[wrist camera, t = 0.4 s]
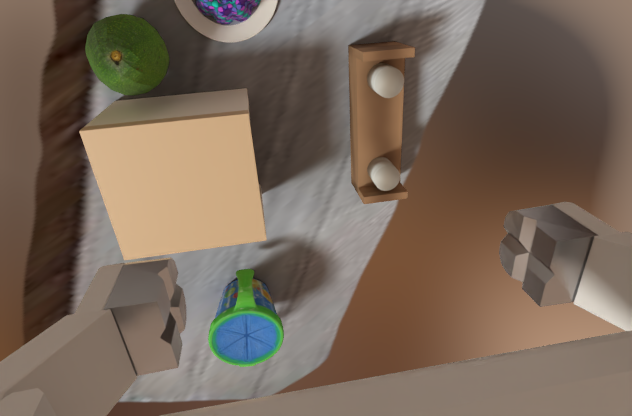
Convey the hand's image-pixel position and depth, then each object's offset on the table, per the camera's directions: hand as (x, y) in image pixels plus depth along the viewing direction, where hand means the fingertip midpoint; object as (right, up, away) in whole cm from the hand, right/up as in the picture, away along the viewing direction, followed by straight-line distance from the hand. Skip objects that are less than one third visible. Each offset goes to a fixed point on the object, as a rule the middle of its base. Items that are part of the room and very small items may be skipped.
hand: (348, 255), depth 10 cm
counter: (-17, +9, +44) cm, 48 cm away
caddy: (+7, +14, +46) cm, 48 cm away
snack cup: (-12, -13, +56) cm, 59 cm away
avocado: (-21, +20, +38) cm, 48 cm away
